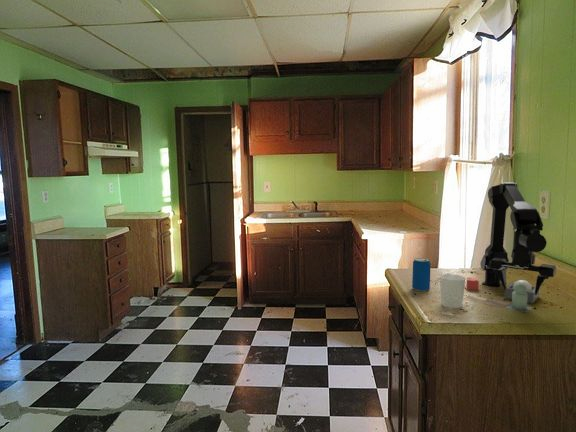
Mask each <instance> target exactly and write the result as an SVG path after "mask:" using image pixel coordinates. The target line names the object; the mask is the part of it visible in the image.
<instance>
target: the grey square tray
mask: <svg viewBox="0 0 576 432" xmlns="http://www.w3.org/2000/svg"><path fill="white" fill-rule="evenodd" d="M514 283H515V282H510V283H509V284H508V285H506V290H504V299H508V300H512V292H514V289H513V284H514ZM531 287H532V291H531V292H530V291H526V293H527V294H528V295H527V304H528V303H529V304H534V303H535V302H536V300H537V299H538V298H539V297H540V295H539V294H540V292H539V291H540V290H539V291H538V294H537V295H535V288H536V285H531Z"/></svg>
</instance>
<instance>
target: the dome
mask: <svg viewBox="0 0 576 432" xmlns="http://www.w3.org/2000/svg"><path fill="white" fill-rule="evenodd" d="M513 283H514V284H513V289H514V287H515V286H516V285H517V284H522V285H524V286H525V287H526V291H530V292H531V291H532V287H531V286H532V284H531V283H530V282H528V281H527V280H525V279H518V280H516V281H514V282H513Z"/></svg>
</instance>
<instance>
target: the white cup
mask: <svg viewBox="0 0 576 432" xmlns="http://www.w3.org/2000/svg"><path fill="white" fill-rule="evenodd" d="M439 277H440V280H439V281H440V289H439V290H440V304H441V306H443V307H445V308H450V309H460V308H462V307H463V301H464V300H463V299H464V295H465V285H466V282H465V281H466V278H465V276H462V275H459V274H454V273H453V274H452V273H450V274H441V275H440V276H439Z"/></svg>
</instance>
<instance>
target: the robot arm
mask: <svg viewBox="0 0 576 432" xmlns="http://www.w3.org/2000/svg"><path fill="white" fill-rule="evenodd" d="M487 197H488V202H489V204H490V206H491V208H492V215H491V228H490V238H489V239H490V242H489V245H488V246H487V247H486V248H485V251H484V255H483V256H482V259H481V260H480V269H481V270H482V271H484V273H485V274H484V281H483V282H481V285H482V286H483V285H484V286H490V287H495V288H500V287H501V286H502V287H503V291H505V290H506V287H507V286H508V285H507V271H508V270H507V269H515V270H522V271H530V272H535V273H536V272H537V273H538V275H537V276H536V283H535V286H536V288H535V295H537V294H538V291H540V289H541V287H542V284H543V283H544V282H545V280H549V279H550V278H553V277H554V276H556V274H557V267H556V265H554V264H546V263H541V264H540V265H535V262H536V254H534V253H540V252H542V251H544V249H545V248H546V246H547V239H546V238H545V236H544V235H542V234H541V231H543V230H544V229H543V228H544V223H543V221H542V218H541V215H540V212H539V211H538V210H537V209H536V207H535V206H534V205H533V204H530V203H528V202H527V201H526V200H525V198H524V197H523V195H522V193H521V192H520V190H519V188H518V183H515V182H501V183H499V184H497V185H494V186H491V187H490V188H489V189H488V191H487ZM508 208H510V210H511V212H510V215H509V218H510V221H511V225H512V227H513V228H512V230H513V242H512V250H511V255H510V257H511V261H510V262H509V260H510V259H509V256H508V252H507V251H506V249H505V247H504V241H505V231H506V230H505V228H506V218H507V210H508Z"/></svg>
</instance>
